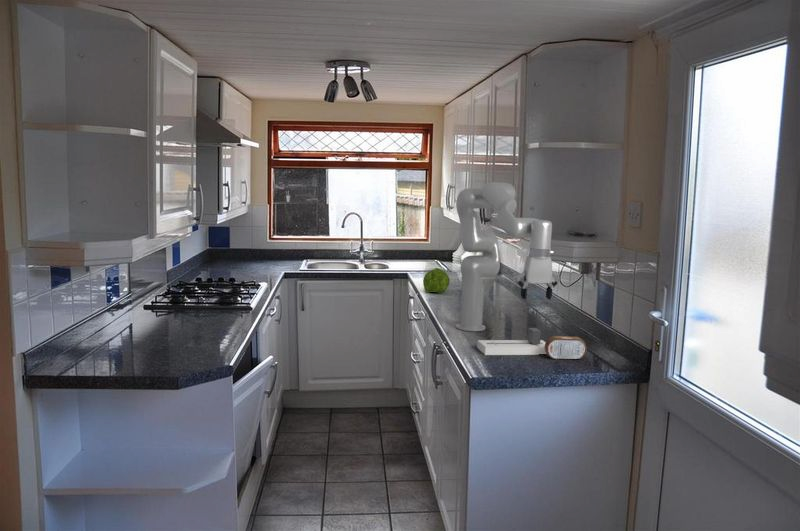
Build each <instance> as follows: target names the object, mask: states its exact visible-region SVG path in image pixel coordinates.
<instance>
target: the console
mask: <svg viewBox="0 0 800 531" xmlns="http://www.w3.org/2000/svg"><path fill="white" fill-rule="evenodd" d="M545 343H546V341H544V340H543V339H540V344H532V343H530V342H529V341H528V339H514V340H513V339H502V340H501V339H499V340H498V339H486V340H485V339H479V340H477V346H476V347H477V349H478V350H479V351H480V352H481V353H482V354H484V355H485V356H522V355H523V356H533V355H534V356H539V354H547V353H546V352H545Z"/></svg>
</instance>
